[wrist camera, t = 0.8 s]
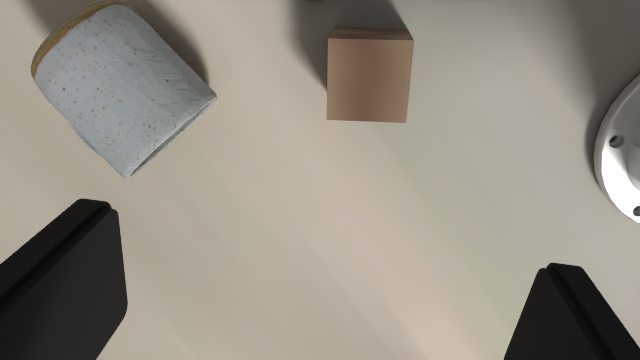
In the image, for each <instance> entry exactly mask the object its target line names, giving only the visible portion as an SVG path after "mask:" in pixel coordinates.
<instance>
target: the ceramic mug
mask: <svg viewBox="0 0 640 360" xmlns="http://www.w3.org/2000/svg"><path fill="white" fill-rule="evenodd" d="M31 74H32V77H33V79H34V81H35V83H36V85H37V86H38V88H39V89H40V91H41V92H42V93H43V95H44V96H45V97H46V99H47V100H48V101H49V102H50V103H51V104H52V105H53V106H54V107H55V109H56V110H57V111H59V112H60V113H61V114H62V115H63V116H64V117H65V118H66V119H67V121H68V123H69V124H70V126H71V127H72V129H73V130H74V132H75V133H76V134H77V135H78V136H79V138H80V139H81V140H82V141H83V142H84V143H85V144H86V145H87V146H88V147H89V148H90V149H91V150H93V151H94V152H95V153H97V154H98V155H100V156H101V157H103V158H104V159H105V160H106V161H107V162H108V163H109V164H110V165H111V166H112V167H113V168H114V170H115V171H116V172H117V173H118V174H120V175H121V176H122V177H123V178H129V177H131V176H133V175H134V174H135V173H137V172H138V171H139V170H140V169H142V168H143V167H144V166H145V165H146V164H148V163H149V162H150V161H151V160H152V159H153V158H155V157H156V156H157V155H158V154H159V153H160V152H162V151H163V150H164V149H165V148H167V147H168V146H169V145H170V144H171V143H172V142H173V141H174V140H176V139H177V138H178V137H179V136H180V135H181V134H182V133H183V132H184V131H185V130H186V129H187V128H189V127H190V126H191V125H192V124H193V123H194V122H195V121H196V120H198V119H199V118H200V117H201V116H202V115H203V114H204V113H205V112H206V111H207V110H208V109H209V108H210V107H211V106H212V105H213V104H214V102H215V101H216V100H217V95H216V93H215V92H214V91H213V90H212V89H211V88H210V87H209V86H208V85H207V84H206V83H205V82H204V81H203V80H202V79H201V78H200V77H199V76H198V75H197V74H196V73H195V72H194V71H193V69H192V68H191V67H190V66H189V65H188V64H187V63H186V62H185V61H184V60H183V59H182V58H181V57H180V56H179V55H178V54H177V53H176V52H175V51H174V50H173V49H172V48H171V47H170V46H169V45H168V44H167V43H166V42H165V41H164V40H163V39H162V38H161V37H160V36H159V35H158V34H157V32H156V31H155V30H154V29H153V28H152V27H151V26H150V25H149V24H148V23H147V22H146V21H145V20H144V19H143V18H141V17H140V16H139V15H138V14H136V13H135V12H134V11H132V10H131V9H130V8H128V7H127V6H125V5H123V4H122V3H117V2H101V3H98V4H95V5H92V6H90V7H88V8H85V9H83V10H81V11H79V12H78V13H76V14H75V15H73V16H72V17H70V18H69V19H68V20H66V21H65V22H63V23H62V24H61V25H60V26H59V27H57V28H56V29H55V30H54V31H53V32H52V33H51V34H50V35H49V36H48V37H47V38H46V39H45V41H44V42H43V43H42V44H41V46H40V47H39V49H38V50H37V52H36V53H35V56H34V58H33V61H32V65H31Z"/></svg>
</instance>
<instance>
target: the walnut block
mask: <svg viewBox="0 0 640 360" xmlns="http://www.w3.org/2000/svg"><path fill="white" fill-rule="evenodd" d="M413 43H414V40H413V38H412V36H411V34H410V32H409V31H408V29H374V28H334V29H333V31H332V32H331V34H330V36H329V38H328V72H327V120H348V121H374V122H400V123H406V118H407V107H408V97H409V86H410V75H411V64H412V54H413Z"/></svg>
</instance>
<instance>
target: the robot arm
mask: <svg viewBox="0 0 640 360" xmlns="http://www.w3.org/2000/svg"><path fill="white" fill-rule="evenodd" d="M612 137H613V138H612ZM611 138H612V139H611ZM593 159H594V168H595V175H596V178H597V180H598V183H599V186H600V188H601V190H602V191H603V193H604V194H605V196H606V197H607V199H608V200H609V201H610V202H611V203H612V204H613V205H614V206H615V207H616V208H617V209H618V210H619V211H620V212H621V213H622V214H624V215H625V216H626V217H628V218H629V219H630V220H632V221H634V222H636V223H639V224H640V74H639V75H638V76H637V77H636V78H635V79H634V80H633V81H632V82H631V83H630V84H629V85H627V86H626V87H625V88H624V90H623V91H622V92H621V94H620V95H619V96H618V97H617V99H616V100H615V101H614V102H613V104H612V105H611V107H610V108H609V110H608V112H607V114H606V116H605V117H604V119H603V121H602V123H601V126H600V129H599V132H598V135H597V138H596V141H595V149H594V157H593ZM127 305H128V301H127V292H126V282H125V273H124V264H123V254H122V245H121V235H120V226H119V217H118V213H117V211H116V210H115V209H112V208H111V206H110V204H109V203H108V202H105V201H98V200H90V199H79V200H77V201H76V202H75V203H73V204H72V205H71V206H70V207H69V208H67V209H66V210H65V211H64V212H63V213H61V214H60V215H59V216H58V217H57V218H55V219H54V220H53V221H52V222H51V223H49V224H48V225H47V226H46V227H45V228H43V229H42V230H41V231H40V232H39V233H37V234H36V235H35V236H34V237H33V238H31V239H30V240H29V241H28V242H27V243H25V244H24V245H23V246H22V247H21V248H19V249H18V250H17V251H16V252H15V253H13V254H12V255H11V256H10V257H9V258H7V259H6V260H5V261H4V262H3V263H1V264H0V360H96V359H97V357H98V356H99V354H100V353H101V351H102V350H103V348H104V347H105V345H106V344H107V342H108V341H109V339H110V338H111V336H112V335H113V333H114V332H115V330H116V329H117V328H118V326H119V325H120V323H121V322H122V320H123V318H124V316H125V314H126V311H127ZM504 360H640V348H639V347H638V345H637V344H636V342H635V341H634V340H633V338H632V337H631V335H630V334H629V333H628V331H627V330H626V328H625V327H624V325H623V324H622V323H621V321H620V320H619V318H618V317H617V316H616V314H615V313H614V311H613V310H612V309H611V307H610V306H609V304H608V303H607V302H606V300H605V299H604V297H603V296H602V295H601V293H600V292H599V290H598V289H597V288H596V286H595V285H594V283H593V282H592V281H591V279H590V278H589V276H588V275H587V274H586V272H585V271H584V270H583V269H582V268H581V267H579V266H573V265H566V264H559V263H550V264H549V265H548V266H547V267H546V268H541V269H540V270H539V271H538V273H537V275H536V277H535V280H534V283H533V285H532V288H531V290H530V293H529V295H528V298H527V300H526V303H525V305H524V308H523V311H522V313H521V316H520V318H519V321H518V323H517V326H516V328H515V331H514V333H513V336H512V339H511V341H510V344H509V346H508V349H507V351H506V354H505V357H504Z"/></svg>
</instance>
